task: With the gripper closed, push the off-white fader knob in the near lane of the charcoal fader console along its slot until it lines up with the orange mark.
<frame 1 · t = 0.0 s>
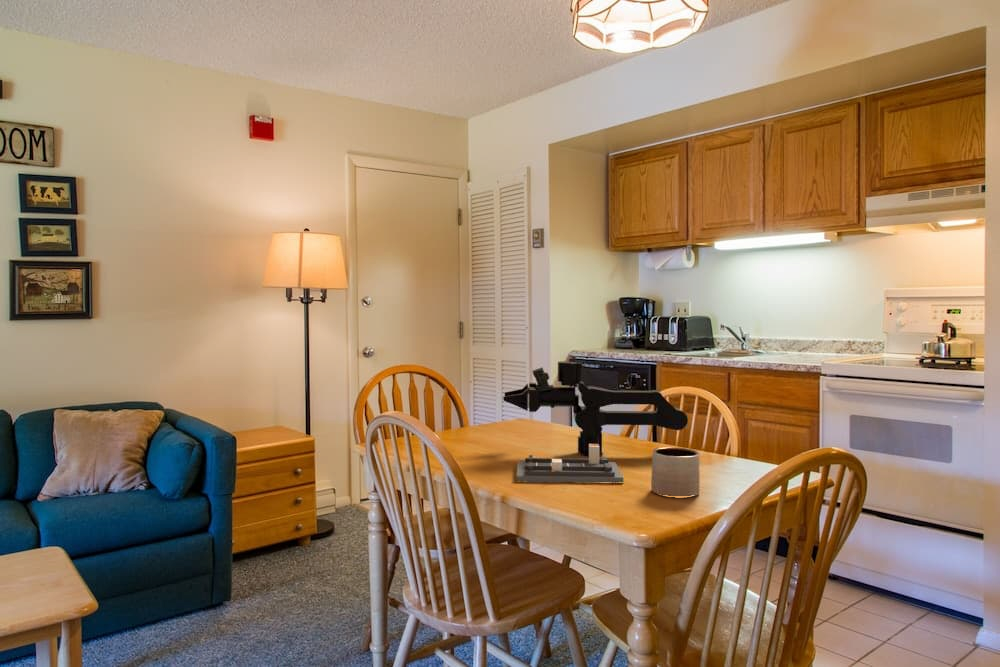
hand: (504, 396, 199), 17 cm above the table, tool horizontal, fingers open, 9 cm apart
fader a: (594, 454, 177), point 4 cm above the table, slide at 0.0 cm
console: (567, 474, 174), on the table
planter: (675, 493, 158), on the table
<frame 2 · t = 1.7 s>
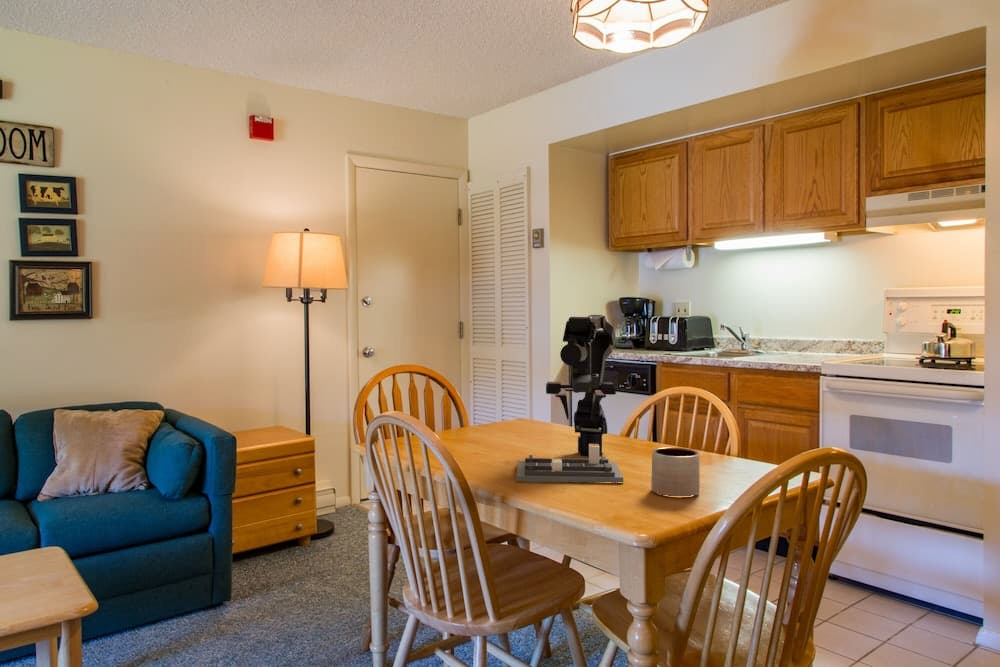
hand: (580, 419, 186), 12 cm above the table, tool pointing down, fingers open, 6 cm apart
nothing on the table moved.
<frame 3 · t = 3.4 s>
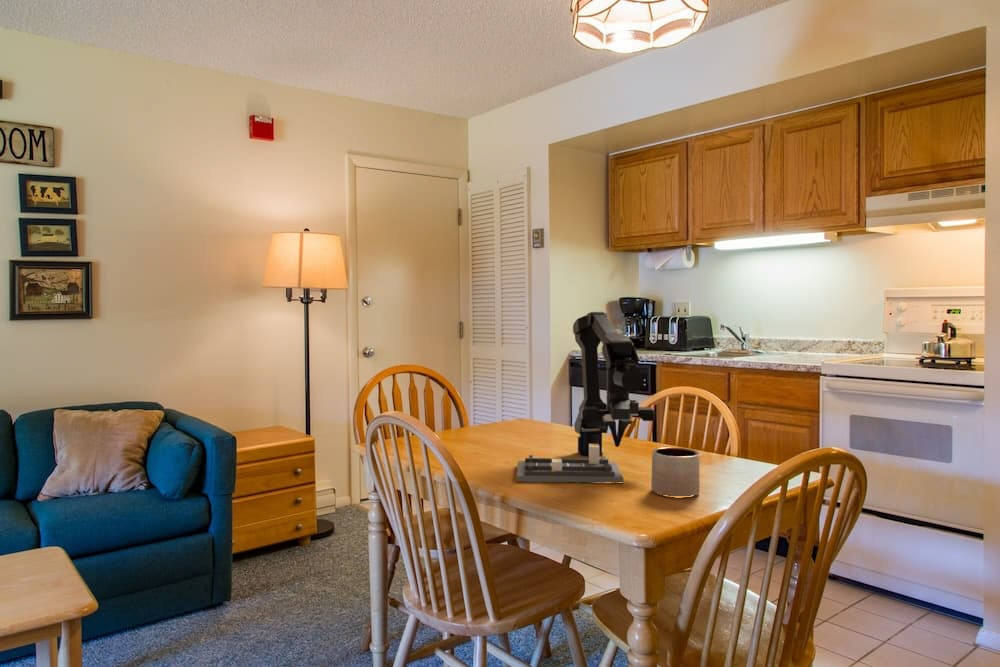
hand: (617, 446, 177), 7 cm above the table, tool pointing down, fingers closed
nothing on the table moved.
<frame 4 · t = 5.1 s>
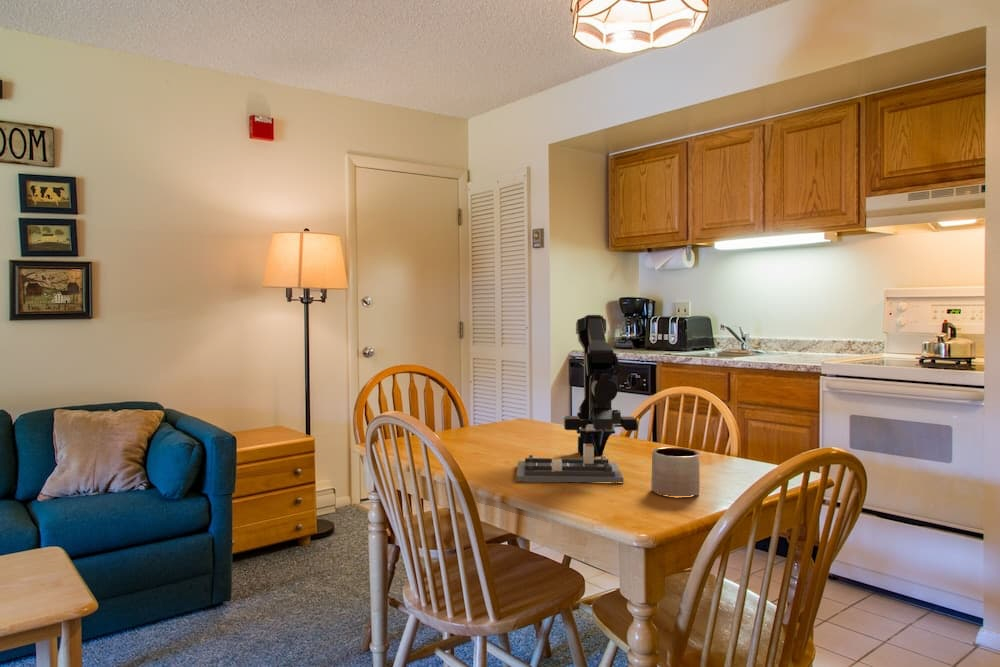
hand: (599, 456, 177), 4 cm above the table, tool pointing down, fingers closed
fader a: (588, 454, 177), point 4 cm above the table, slide at 1.5 cm, touching gripper
everything else where it was.
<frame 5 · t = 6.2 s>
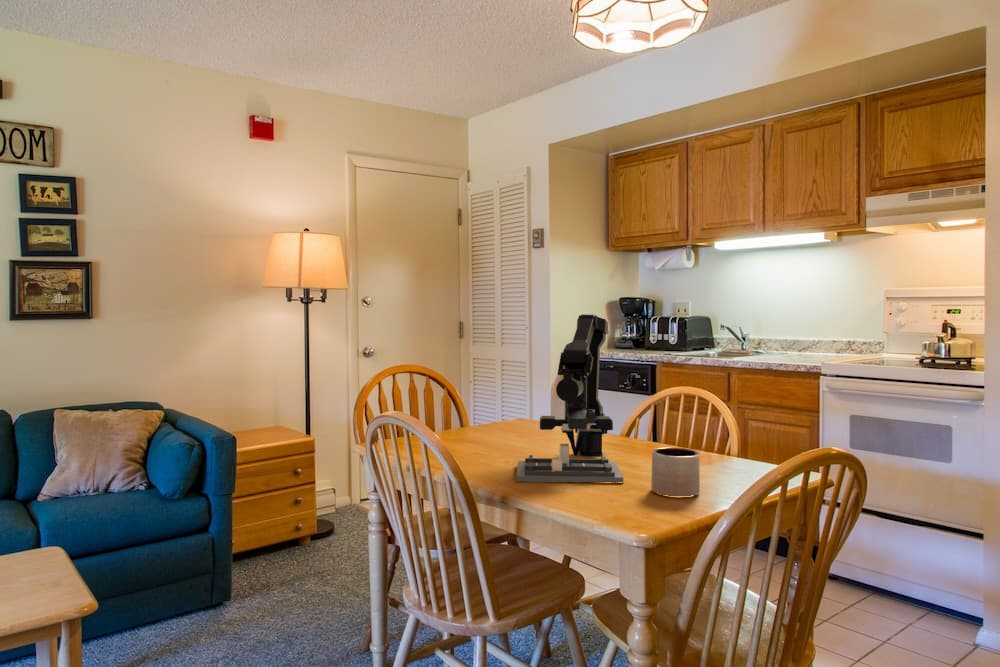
hand: (575, 455, 177), 4 cm above the table, tool pointing down, fingers closed
fader a: (564, 453, 178), point 4 cm above the table, slide at 7.8 cm, touching gripper
everything else where it was.
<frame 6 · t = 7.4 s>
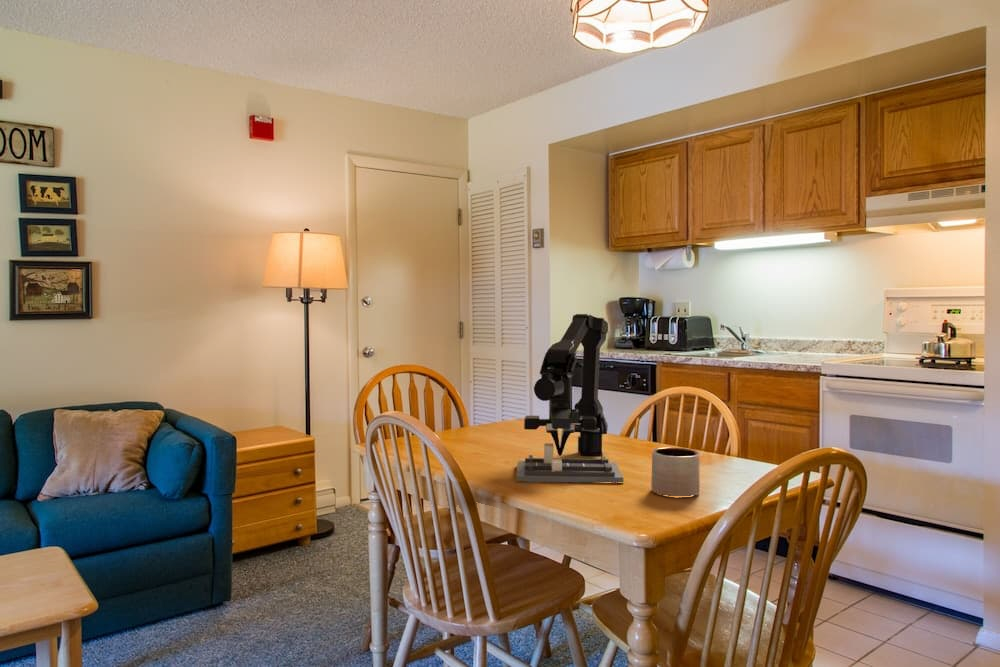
hand: (559, 455, 178), 4 cm above the table, tool pointing down, fingers closed
fader a: (548, 453, 178), point 4 cm above the table, slide at 11.8 cm, touching gripper
everything else where it was.
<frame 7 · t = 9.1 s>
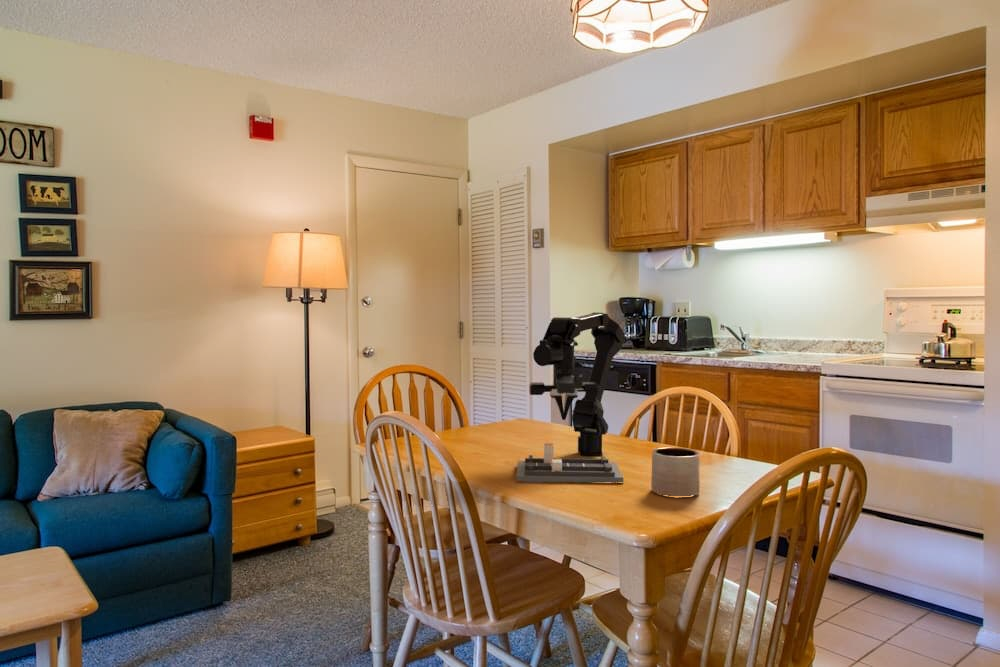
hand: (563, 419, 187), 12 cm above the table, tool pointing down, fingers closed
fader a: (548, 453, 178), point 4 cm above the table, slide at 11.9 cm
everything else where it was.
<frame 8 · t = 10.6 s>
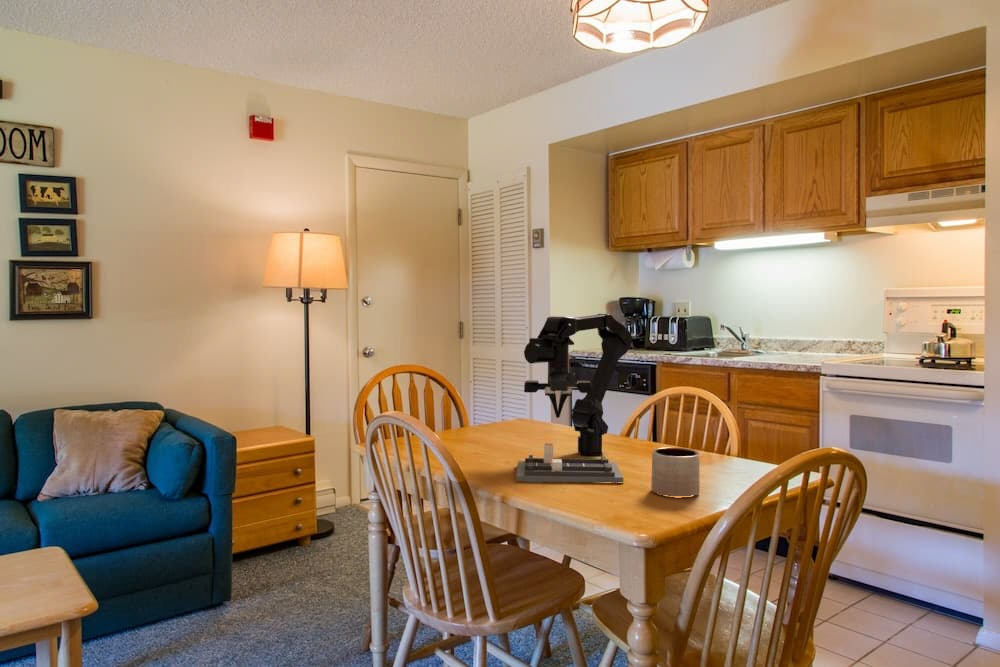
hand: (557, 417, 189), 12 cm above the table, tool pointing down, fingers closed
nothing on the table moved.
at the end: fader a slide at 11.9 cm; the gripper is holding nothing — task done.
